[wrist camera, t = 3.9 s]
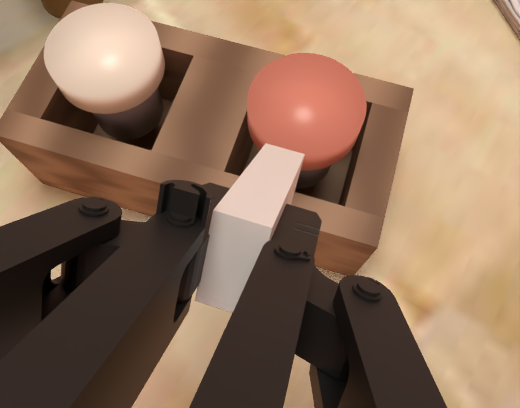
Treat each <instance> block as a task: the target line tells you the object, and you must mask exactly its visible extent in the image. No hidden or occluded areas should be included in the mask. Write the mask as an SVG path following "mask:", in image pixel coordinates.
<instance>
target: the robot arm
mask: <svg viewBox="0 0 520 408" xmlns="http://www.w3.org/2000/svg"><path fill="white" fill-rule="evenodd" d="M304 156H305V154H302V153H299V152H295V151H292V150H288V149H285V148H281V147H277V146H274V145H270V144H267V143H266V144H265V145H264V146H263V147H262V149H261V150H260V151H259V153H258V154H257V155H256V156H255V158H254V159H253V160H252V161H251V163H250V164H249V165H248V167H247V168H246V169H245V170H244V172H243V173H242V174H241V175H240V177H239V178H238V179H237V181H236V182H235V183H234V184H233V186H232V187H231V188H227V187H224V186H221V185H217V184H214V183H207V184H203V185H200V184H198V183H195V182H191V181H186V180H168V181H165V182H163V183H160V189H159V196H158V203H157V210H156V213H155V214H154V215H153V216H152V217H151V218H150V219H149V220H148V221H147V222H134V221H126V220H121V215H122V210H121V208H120V206H119V205H117V204H115V203H114V202H112V201H109V200H106V199H104V198H100V197H99V198H98V197H89V198H79V199H75V200H72V201H69V202H66V203H63V204H61V205H58V206H55V207H52V208H50V209H47V210H44V211H42V212H39V213H36V214H33V215H31V216H28V217H25V218H22V219H20V220H17V221H14V222H12V223H9V224H6V225H3V226H1V227H0V408H131V407H132V405H133V404H134V402H135V400H136V399H137V397H138V395H139V394H140V392H141V390H142V389H143V387H144V385H145V384H146V382H147V380H148V379H149V377H150V375H151V373H152V372H153V370H154V368H155V367H156V365H157V363H158V362H159V360H160V358H161V357H162V355H163V353H164V352H165V350H166V348H167V347H168V345H169V343H170V342H171V340H172V338H173V337H174V335H175V333H176V332H177V330H178V328H179V327H180V325H181V323H182V321H183V320H184V318H185V316H186V315H187V313H188V311H189V307H190V303H191V298H192V294H193V293H194V291H195V289H196V288H197V286H198V288H197V293H196V298H195V301H198V302H201V303H204V304H207V305H210V306H213V307H216V308H219V309H222V310H226V311H229V312H232V315H231V317H230V320H229V322H228V324H227V326H226V328H225V331H224V333H223V335H222V337H221V339H220V342H219V344H218V346H217V348H216V350H215V353H214V355H213V357H212V359H211V361H210V364H209V366H208V368H207V370H206V372H205V374H204V377H203V379H202V381H201V383H200V385H199V388H198V390H197V392H196V394H195V396H194V399H193V401H192V403H191V405H190V407H189V408H283V405H284V401H285V396H286V391H287V387H288V382H289V378H290V373H291V369H292V364H293V359H294V355H295V354H296V355H297V356H299V357H301V358H302V359H304V360H306V361H307V362H309V363H311V365H310V372H309V374H310V381H311V387H312V393H313V400H314V406H315V408H447V406H446V404H445V402H444V400H443V398H442V396H441V394H440V392H439V389H438V387H437V385H436V383H435V381H434V379H433V377H432V375H431V373H430V370H429V368H428V366H427V364H426V362H425V360H424V358H423V356H422V353H421V351H420V349H419V347H418V345H417V343H416V341H415V339H414V337H413V334H412V332H411V330H410V328H409V326H408V324H407V322H406V320H405V318H404V315H403V313H402V311H401V309H400V307H399V305H398V303H397V301H396V298H395V297H394V295H393V294H392V293H391V291H390V290H389V289H388V288H386V287H385V286H384V285H383V284H381V283H380V282H378V281H375V280H374V279H372V278H369V277H363V276H356V275H350V276H346V277H344V278H343V279H342V280H341V281H340V282H339V284H338V283H336V282H334V281H332V280H331V279H329V278H327V277H326V276H324V275H323V274H322V273H321V272H320V271H319V270H318V269H317V268H316V266H315V264H314V263H315V258H314V255H315V250H316V246H317V241H318V236H319V232H320V227H321V223H322V220H321V219H320V217H319V215H318V214H317V212H313V211H310V210H307V209H303V208H300V207H296V206H293V205H291V203H292V199H293V196H294V192H295V188H296V185H297V181H298V178H299V174H300V170H301V167H302V163H303V160H304ZM61 263H62V264H61ZM59 264H61V276H60V277H58V278H56V279H53V280H51V270H52V269H53V268H54V267H56V266H57V265H59Z"/></svg>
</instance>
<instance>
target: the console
mask: <svg viewBox="0 0 520 408" xmlns="http://www.w3.org/2000/svg"><path fill="white" fill-rule="evenodd" d="M86 6H89V5H87V4H84V3H80V2H76V1H72V0H71V2H70V4H69V5H68V7H67V9H66V10H65V12H64V14H63V16H62V17H61V19H60V21H61V20H62V19H63V18H64V17H66V16H67V15H68V14H70V13H72V12H74V11H75V10H78V9H80V8H82V7H86ZM151 22H152V23H153V25H154V26H155V28H156V31H157V33H158V37H159V41H160V44H161V48H162V52H163V55H164V60H165V70H164V75H163V78H162V80H161V83H160V84H159V86H158V89H159V92H160V95H161V98H162V102H163V115H162V118H161V120H160V122H159V123H158V125H157V126H156V127H155V128H154V129H153V130H152V131H151V132H149V133H148V134H146V135H144V136H142V137H139V138H135V139H118V138H115V137H112V136H110V135H108V134H107V133H106V132H105V131H103V130H102V128H101V127H100V125H99V124H98V122H97V120H96V119H95V117H94V115H93V113H92V112H88V111H85V110H82V109H80V108H78V107H76V106H74V105H73V104H72V103H70V102H69V101H68V100H67V99H66V98H65V97H64V95H63V94H62V92H61V91H60V89H59V88H58V86H57V85H56V83H55V82H54V80H53V79H52V77H51V76H50V74H49V72H48V70H47V68H46V65H45V62H44V47H45V46H44V47H43V49H42V51H41V52H40V54H39V56H38V57H37V59H36V61H35V62H34V64H33V66H32V67H31V69H30V71H29V72H28V74H27V76H26V77H25V79H24V81H23V82H22V84H21V86H20V87H19V89H18V91H17V93H16V94H15V96H14V98H13V99H12V101H11V103H10V104H9V106H8V108H7V109H6V111H5V113H4V114H3V116H2V118H1V119H0V142H1V143H2V144H3V145H4V146H5V147H6V148H7V149H8V150H9V151H10V152H11V153H12V154H13V155H14V156H15V157H16V158H17V159H18V160H19V161H20V162H21V163H22V164H23V165H24V166H25V167H26V168H28V169H29V170H30V171H31V172H32V173H33V174H34V175H35V176H36V177H37V178H38V179H39V180H40V181H41V182H42V183H43V184H47V185H50V186H53V187H57V188H60V189H63V190H67V191H70V192H73V193H76V194H80V195H83V196H86V197H98V198H99V197H100V198H104V199H106V200H109V201H112V202H114V203H115V204H117V205H119V206H120V207H123V208H126V209H129V210H133V211H136V212H139V213H142V214H146V215H149V216H153V215H154V214H155V213H156V210H157V203H158V196H159V189H160V183H163V182H165V181H168V180H186V181H191V182H195V183H198V184H200V185H203V184H207V183H214V184H217V185H221V186H224V187H227V188H231V187H232V186H233V184H234V183H235V182H236V181H237V179H238V178H239V177H240V175H241V174H242V173H243V172H244V170H245V169H246V168H247V167H248V165H249V164H250V163H251V161H252V160H253V159H254V158H255V156H256V155H257V154H258V153H259V151H260V150H259V149H258V148H257V147H256V145H255V144H254V142H253V140H252V138H251V136H250V133H249V129H248V120H247V95H248V91H249V87H250V85H251V83H252V81H253V79H254V78H255V76H256V75H257V74H258V72H259V71H260V70H261V69H262V68H263V67H265V66H266V65H267V64H269V63H270V62H272V61H274V60H276V59H278V58H280V57H283V56H285V55H281V54H277V53H274V52H270V51H266V50H262V49H258V48H254V47H250V46H246V45H243V44H239V43H235V42H231V41H227V40H223V39H219V38H215V37H212V36H208V35H204V34H200V33H196V32H192V31H188V30H184V29H181V28H177V27H173V26H169V25H165V24H161V23H157V22H153V21H151ZM353 74H354V75H355V76H356V78H357V79H358V80H359V82H360V84H361V85H362V88H363V90H364V93H365V96H366V103H367V108H366V116H365V119H364V122H363V125H362V127H361V130H360V132H359V135H358V137H357V140H356V142H355V144H354V146H353V147H352V149H351V150H350V151H349V153H348V154H347V155H346V156H345V157H343V158H342V159H341V160H339V161H338V162H336V163H334V164H333V165H331V166H330V169H329V171H328V173H327V175H326V176H325V177H324V178H323V179H322V180H321V181H320V182H318V183H317V184H315V185H313V186H311V187H307V188H301V189H296V188H295V192H294V196H293V199H292V203H291V205H293V206H296V207H300V208H303V209H307V210H310V211H313V212H317V214H318V215H319V217H320V219H321V220H322V223H321V227H320V232H319V236H318V241H317V246H316V250H315V255H314V258H315V263H314V264H315V266H317V267H321V268H324V269H327V270H331V271H334V272H337V273H341V274H344V275H347V276H350V275H354V274H355V273H356V272H357V271H358V270H359V269H360V267H361V266H362V265H363V264H364V263H365V262H366V260H367V259H368V258H369V257H370V256H371V255H372V253H373V252H374V251H375V250H376V249H377V248H378V243H379V239H380V235H381V230H382V226H383V221H384V217H385V213H386V208H387V204H388V199H389V195H390V191H391V186H392V182H393V177H394V173H395V169H396V164H397V160H398V155H399V151H400V147H401V142H402V138H403V133H404V129H405V125H406V120H407V116H408V111H409V107H410V103H411V98H412V94H413V88H409V87H405V86H402V85H398V84H394V83H390V82H386V81H382V80H378V79H374V78H371V77H367V76H363V75H359V74H355V73H353Z"/></svg>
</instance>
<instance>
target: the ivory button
mask: <svg viewBox="0 0 520 408" xmlns="http://www.w3.org/2000/svg"><path fill="white" fill-rule="evenodd" d="M44 62H45V65H46V68H47V70H48V72H49V74H50V76H51V77H52V79H53V80H54V82H55V83H56V85H57V86H58V88H59V89H60V91H61V92H62V94H63V95H64V97H65V98H66V99H67V100H68V101H69V102H70V103H72V104H73V105H74V106H76V107H78V108H80V109H82V110H85V111H88V112H92V113H93V115H94V117H95V119H96V120H97V122H98V124H99V125H100V127H101V128H102V130H103V131H105V132H106V133H107V134H108V135H110V136H112V137H115V138H118V139H135V138H139V137H142V136H144V135H146V134H148V133H149V132H151V131H152V130H153V129H154V128H155V127H156V126H157V125H158V123H159V122H160V120H161V118H162V115H163V102H162V98H161V95H160V92H159V89H158V86H159V84H160V83H161V80H162V78H163V75H164V70H165V60H164V55H163V52H162V48H161V44H160V41H159V37H158V33H157V31H156V28H155V26H154V25H153V23H152V22H151V21H150V19H149V18H148V17H147V16H145V15H144V14H143V13H142V12H140V11H138V10H137V9H134V8H132V7H130V6H126V5H122V4H117V3H99V4H93V5H89V6H86V7H82V8H80V9H78V10H75V11H74V12H72V13H70V14H68V15H67V16H66V17H64V18H63V19H62V20H61V21H59V22H58V23H57V24H56V26H55V27H54V28H53V29H52V31H51V32H50V34H49V36H48V38H47V40H46V43H45V47H44Z"/></svg>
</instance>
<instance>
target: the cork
mask: <svg viewBox="0 0 520 408" xmlns="http://www.w3.org/2000/svg"><path fill="white" fill-rule="evenodd" d="M72 1H76V2H80V3H84V4H87V5H93V4H99V3H102V2H103V0H72ZM70 2H71V0H42V3H43V6H44V7H45V9H46V10H47V11H48V13H50V14H52V15H53V16H55V17H57V18H61V17H62V16H63V14H64V12H65V10H66V9H67V7H68V5H69V4H70Z"/></svg>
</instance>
